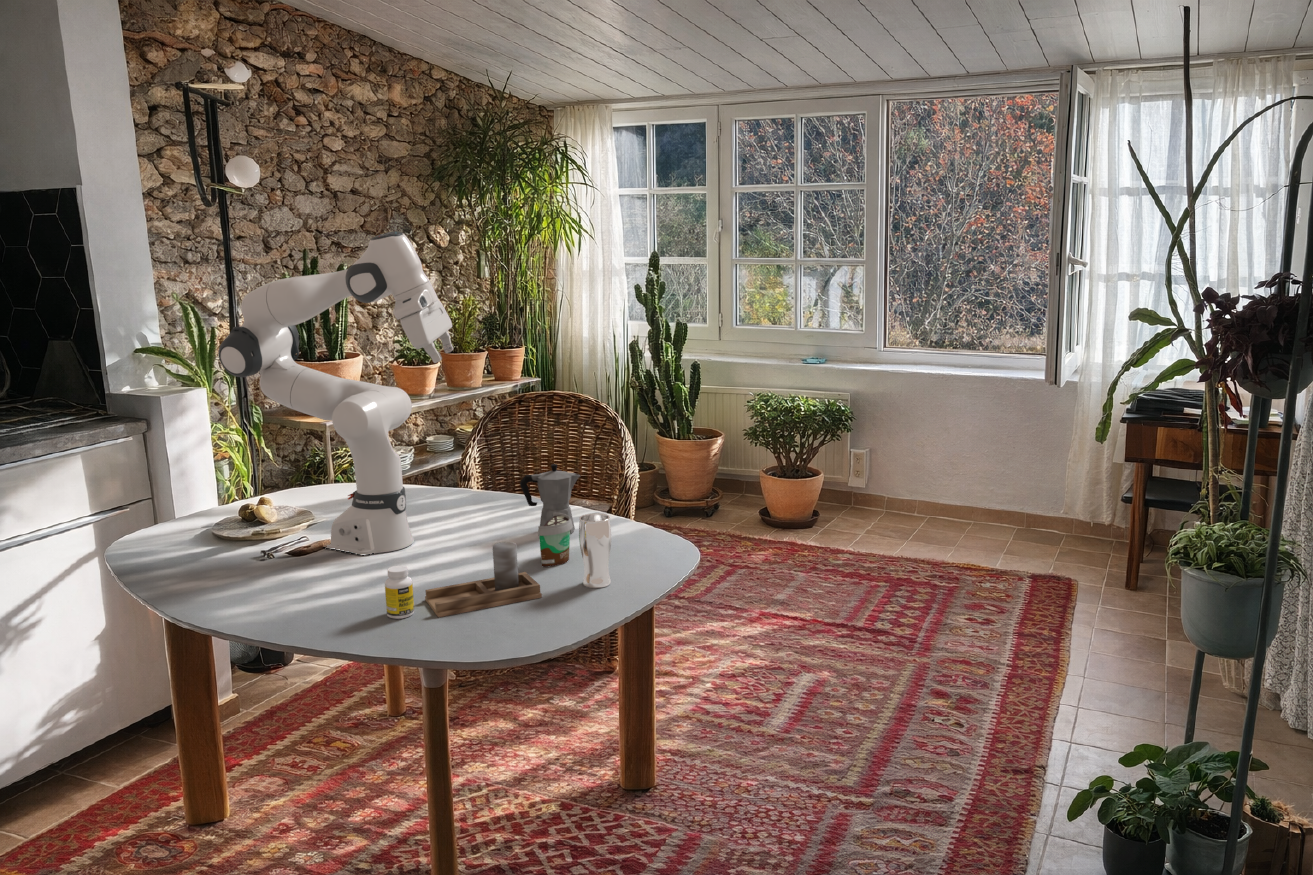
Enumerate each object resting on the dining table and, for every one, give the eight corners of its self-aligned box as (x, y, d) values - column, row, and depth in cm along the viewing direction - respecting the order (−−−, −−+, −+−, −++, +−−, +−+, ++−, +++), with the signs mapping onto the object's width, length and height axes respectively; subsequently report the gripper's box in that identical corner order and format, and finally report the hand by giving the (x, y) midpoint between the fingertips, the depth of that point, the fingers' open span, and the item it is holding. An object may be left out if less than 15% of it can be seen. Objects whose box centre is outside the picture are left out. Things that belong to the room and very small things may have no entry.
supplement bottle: (400, 621, 191) (396, 574, 189) (381, 616, 194) (377, 570, 192) (420, 612, 195) (416, 566, 193) (401, 607, 198) (397, 562, 196)
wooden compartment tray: (438, 617, 192) (434, 566, 190) (425, 599, 202) (421, 551, 200) (541, 597, 202) (539, 548, 200) (524, 581, 212) (522, 534, 210)
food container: (565, 570, 219) (563, 527, 217) (539, 568, 220) (537, 526, 218) (580, 552, 230) (578, 512, 228) (555, 551, 232) (554, 511, 230)
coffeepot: (579, 524, 253) (577, 458, 250) (585, 534, 244) (582, 466, 241) (521, 529, 250) (517, 462, 246) (524, 540, 241) (520, 470, 237)
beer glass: (588, 591, 205) (586, 523, 202) (576, 581, 211) (573, 515, 208) (618, 585, 208) (616, 518, 205) (604, 575, 214) (602, 511, 211)
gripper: (419, 297, 226) (444, 351, 229) (390, 314, 206) (418, 372, 210) (442, 287, 225) (468, 341, 228) (416, 303, 205) (444, 362, 209)
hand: (444, 356), depth 219 cm, fingers open, 8 cm apart
